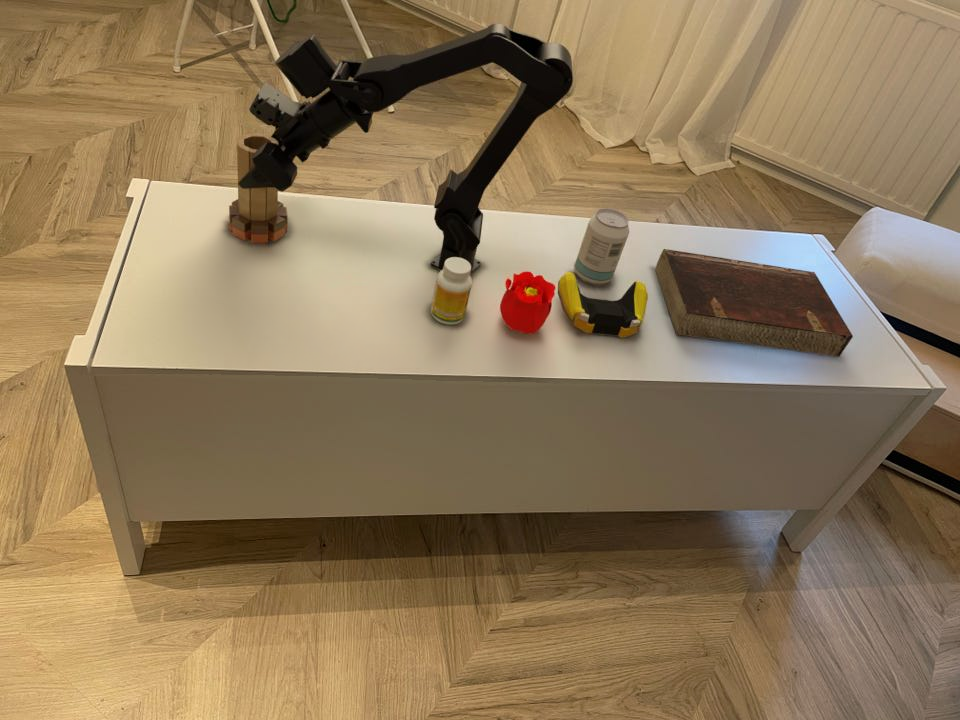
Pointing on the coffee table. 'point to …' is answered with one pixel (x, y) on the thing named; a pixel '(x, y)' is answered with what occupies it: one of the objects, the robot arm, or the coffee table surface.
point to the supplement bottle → (452, 291)
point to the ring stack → (258, 225)
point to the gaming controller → (603, 309)
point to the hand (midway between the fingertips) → (249, 171)
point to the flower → (527, 302)
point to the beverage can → (602, 246)
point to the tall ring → (254, 200)
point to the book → (750, 303)
